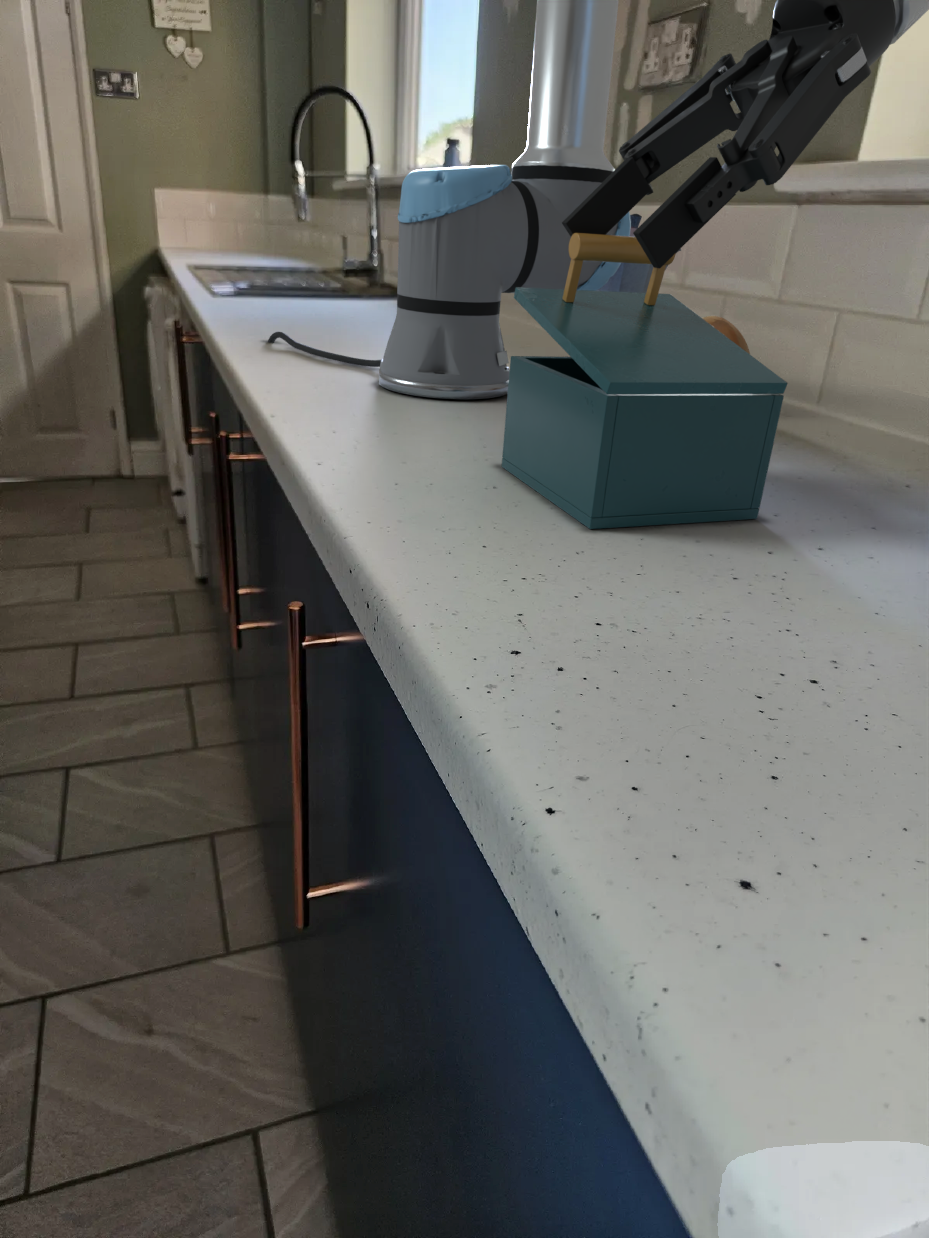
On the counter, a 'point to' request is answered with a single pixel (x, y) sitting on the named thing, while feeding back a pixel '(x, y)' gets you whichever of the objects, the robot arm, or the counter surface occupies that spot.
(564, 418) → the storage box
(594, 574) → the counter surface
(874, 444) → the counter surface
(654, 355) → the box lid
